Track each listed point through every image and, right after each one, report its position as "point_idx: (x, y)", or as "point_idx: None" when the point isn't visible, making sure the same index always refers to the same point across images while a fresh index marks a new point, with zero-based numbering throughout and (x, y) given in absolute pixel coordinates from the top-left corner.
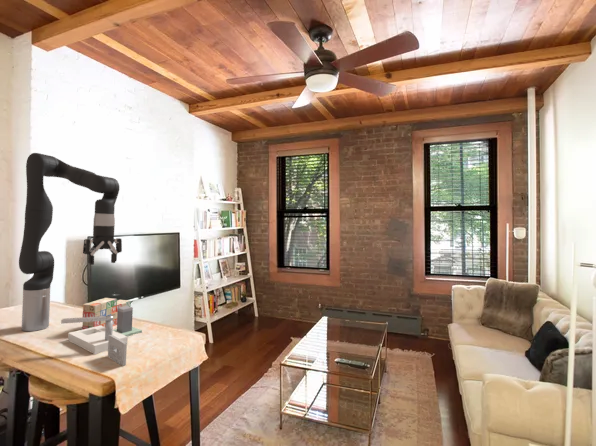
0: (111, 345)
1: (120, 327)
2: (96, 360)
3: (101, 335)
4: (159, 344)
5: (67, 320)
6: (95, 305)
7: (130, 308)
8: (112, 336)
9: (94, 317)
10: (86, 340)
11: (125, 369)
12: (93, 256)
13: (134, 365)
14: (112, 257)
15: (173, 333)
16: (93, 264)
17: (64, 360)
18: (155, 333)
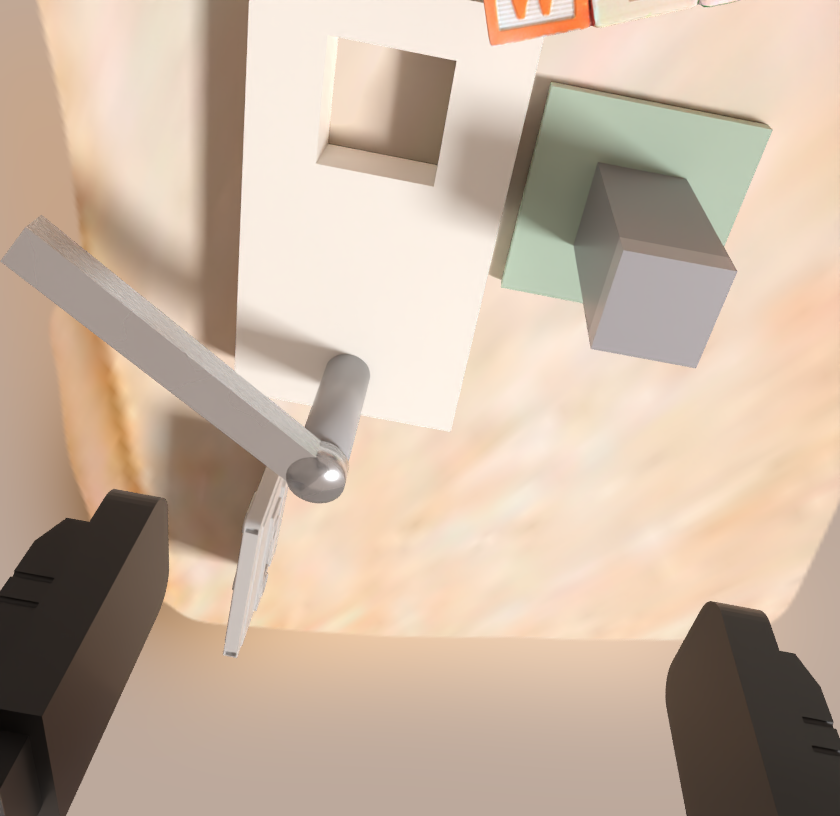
0: (242, 531)
1: (584, 235)
2: (211, 433)
3: (371, 270)
4: (538, 543)
5: (45, 292)
6: (500, 35)
7: (669, 361)
8: (244, 555)
9: (226, 412)
10: (251, 266)
11: None
12: (49, 797)
13: (286, 597)
14: (720, 776)
15: (739, 504)
16: (161, 586)
17: None
18: (698, 413)
